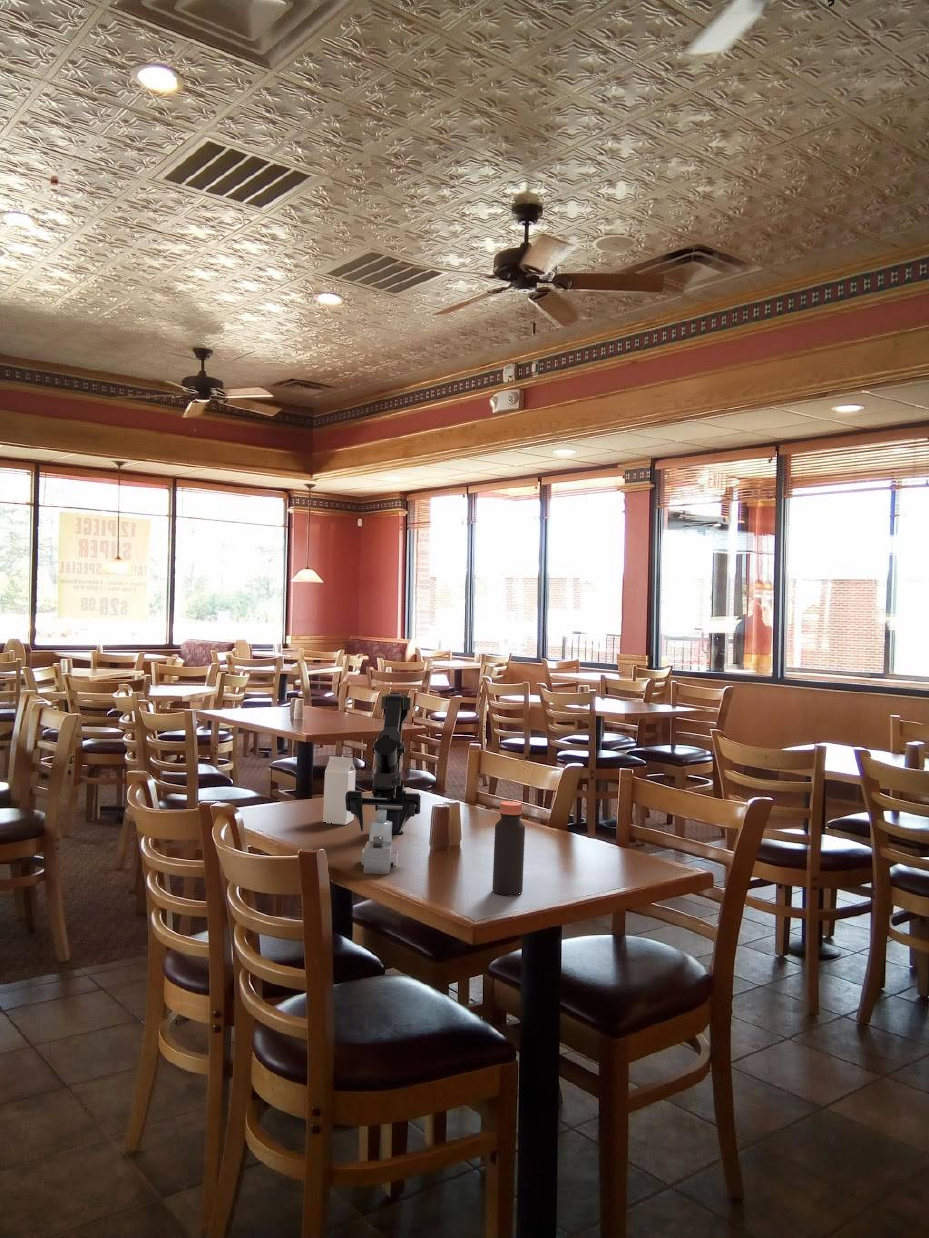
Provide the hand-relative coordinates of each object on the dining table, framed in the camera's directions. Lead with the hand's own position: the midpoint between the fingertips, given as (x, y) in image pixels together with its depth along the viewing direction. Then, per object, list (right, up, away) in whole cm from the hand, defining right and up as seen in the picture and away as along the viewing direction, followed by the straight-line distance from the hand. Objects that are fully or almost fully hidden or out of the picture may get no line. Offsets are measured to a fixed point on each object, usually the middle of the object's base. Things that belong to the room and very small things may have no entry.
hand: (380, 831), depth 234 cm
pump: (0, -8, +2) cm, 8 cm away
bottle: (+30, -10, -19) cm, 37 cm away
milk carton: (-16, -8, +46) cm, 49 cm away
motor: (0, -8, -3) cm, 9 cm away
